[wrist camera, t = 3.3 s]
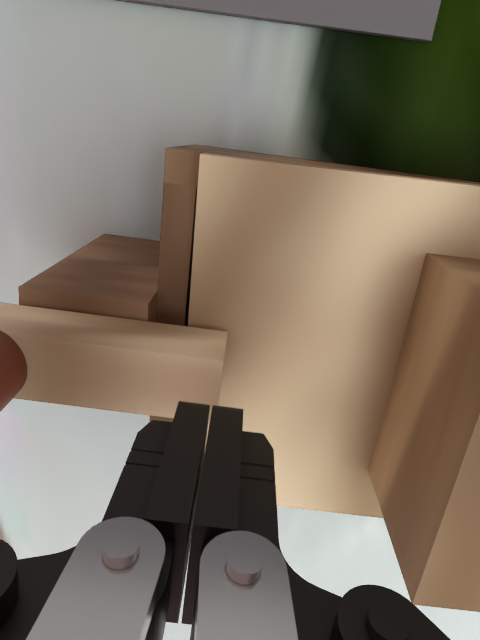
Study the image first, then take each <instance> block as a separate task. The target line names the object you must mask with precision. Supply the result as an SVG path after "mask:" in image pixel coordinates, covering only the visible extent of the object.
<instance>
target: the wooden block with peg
mask: <svg viewBox="0 0 480 640" xmlns="http://www.w3.org/2000/svg"><path fill="white" fill-rule="evenodd" d="M227 334H228V332H226V331H218V330H210V329H202V328H195V327H187V326H179V325H171V324H163V323H156V322H148V321H140V320H132V319H125V318H117V317H109V316H101V315H93V314H86V313H78V312H70V311H62V310H55V309H47V308H39V307H31V306H23V305H16V304H8V303H0V411H1V410H2V409H3V408H4V407H5V406H6V405H7V404H8V403H9V402H10V401H11V400H12V399H13V398H16V399H24V400H32V401H40V402H48V403H56V404H64V405H72V406H80V407H88V408H96V409H103V410H111V411H119V412H127V413H135V414H143V415H151V416H159V417H167V418H174V416H175V412H176V409H177V406H178V402H179V401H184V402H192V403H200V404H207V405H210V411H209V420H208V423H210V418H211V412H212V406H213V405H216V406H218V403H219V397H220V390H221V382H222V374H223V366H224V358H225V350H226V342H227Z"/></svg>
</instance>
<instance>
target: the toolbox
mask: <svg viewBox="0 0 480 640" xmlns="http://www.w3.org/2000/svg"><path fill="white" fill-rule="evenodd" d="M202 153H210V154H219V155H227V156H236V157H245V158H253V159H262V160H271V161H279V162H288V163H297V164H306V165H314V166H323V167H332V168H340V169H349V170H358V171H366V172H375V173H384V174H393V175H401V176H410V177H419V178H427V179H436V180H445V181H453V182H462V183H471V184H479V185H480V183H479V182H472V181H464V180H457V179H449V178H442V177H434V176H427V175H419V174H411V173H404V172H396V171H389V170H381V169H374V168H366V167H359V166H351V165H344V164H336V163H329V162H321V161H314V160H306V159H299V158H291V157H283V156H276V155H268V154H261V153H253V152H246V151H238V150H231V149H223V148H216V147H208V146H201V145H189V146H179V147H170V148H166V154H165V171H164V188H163V205H162V222H161V238H160V241H153V240H146V239H138V238H130V237H123V236H115V235H107V234H103V235H102V236H100V237H99V238H97V239H95V240H94V241H92V242H90V243H89V244H87V245H86V246H84V247H82V248H81V249H79V250H78V251H76V252H74V253H73V254H71V255H69V256H68V257H66V258H65V259H63V260H61V261H60V262H58V263H57V264H55V265H53V266H52V267H50V268H49V269H47V270H45V271H44V272H42V273H40V274H39V275H37V276H36V277H34V278H32V279H31V280H29V281H28V282H26V283H24V284H23V285H21V286H19V287H18V288H19V305H23V306H31V307H39V308H47V309H55V310H62V311H70V312H78V313H86V314H93V315H101V316H109V317H117V318H125V319H132V320H140V321H148V322H156V323H163V324H171V325H179V326H187V327H188V317H189V302H190V288H191V274H192V260H193V245H194V231H195V217H196V203H197V188H198V174H199V160H200V154H202ZM173 419H174V418H167V417H159V416H151V415H150V422H151V421H152V420H158V421H166V422H173Z"/></svg>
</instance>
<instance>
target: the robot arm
mask: <svg viewBox="0 0 480 640" xmlns="http://www.w3.org/2000/svg"><path fill="white" fill-rule="evenodd" d="M209 411H210V405H207V404H200V403H192V402H184V401H179V402H178V406H177V409H176V412H175V416H174V419H173V422H166V421H158V420H152V421H151V422H150V423H148V424H147V425H146V426H145V427H144V428H143V429H141V430H140V431H139V432H138V434H137V436H136V439H135V441H134V444H133V446H132V448H131V452H130V453H129V456H128V458H127V461H126V465H125V466H124V468H123V471H122V473H121V476H120V478H119V481H118V483H117V486H116V488H115V490H114V493H113V495H112V498H111V500H110V503H109V505H108V508H107V510H106V513H105V515H104V518H103V520H102V522H101V523H98V524H97V525H95V526H93V527H92V528H91V529H90V530H88V531H87V532H86V533H85V534H84V535H83V536H82V538H81V539H80V541H79V542H78V544H77V546H75V547H73V548H71V549H69V550H66V551H63V552H60V553H55V554H51V555H45V556H39V557H32V558H26V559H20V560H17V557H16V554H15V552H14V550H13V548H12V547H11V546H10V545H9V544H8V543H6V542H4V541H3V540H0V640H162V639H163V634H164V628H165V623H166V622H173V623H178V619H179V613H180V607H181V601H182V595H183V588H184V582H185V576H186V570H187V564H188V572H187V581H186V589H185V598H184V607H183V616H182V623H183V624H192V628H191V636H190V640H450V639H449V638H448V637H447V636H446V635H445V634H444V633H443V632H442V631H441V630H440V629H439V628H438V627H437V626H436V625H435V624H433V623H432V622H431V621H430V620H429V619H428V618H427V617H426V616H425V615H424V614H423V613H422V612H421V611H420V610H419V609H418V608H417V607H416V606H415V605H413V604H412V603H411V602H410V601H409V600H408V599H406V598H405V597H403V596H402V595H400V594H399V593H397V592H395V591H393V590H391V589H388V588H385V587H382V586H377V585H361V586H357V587H355V588H353V589H351V590H349V591H348V592H347V593H346V594H345V595H344V596H343V598H342V597H340V596H337V595H335V594H333V593H330V592H328V591H326V590H324V589H321V588H319V587H317V586H315V585H313V584H311V583H309V582H307V581H306V580H304V579H303V578H301V577H300V576H299V575H298V574H297V573H295V572H294V570H293V569H292V568H291V567H290V566H289V565H288V563H287V562H286V560H285V559H284V557H283V555H282V553H281V550H280V547H279V539H278V521H277V503H276V484H275V470H274V449H273V448H272V446H271V444H270V443H269V441H268V440H267V438H266V436H265V435H264V434H263V433H255V432H247V431H242V430H243V409H240V408H232V407H224V406H216V405H213V406H212V412H211V418H210V424H209V430H208V436H207V428H208V420H209ZM206 437H207V442H206ZM205 445H206V448H205ZM190 545H191V546H190ZM189 552H190V555H189ZM188 558H189V563H188Z"/></svg>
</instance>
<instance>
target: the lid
mask: <svg viewBox="0 0 480 640" xmlns="http://www.w3.org/2000/svg"><path fill="white" fill-rule="evenodd" d="M188 327H195V328H202V329H210V330H218V331H226V332H228V334H227V342H226V350H225V358H224V366H223V374H222V382H221V390H220V397H219V403H218V406H224V407H232V408H240V409H243V430H242V431H247V432H255V433H263V434H264V435H265V436H266V438H267V440H268V441H269V443H270V444H271V446H272V448H273V449H274V470H275V484H276V503H277V506H280V507H289V508H298V509H307V510H316V511H325V512H334V513H343V514H352V515H361V516H370V517H379V518H384V520H385V523H386V526H387V529H388V532H389V535H390V538H391V542H392V545H393V548H394V551H395V554H396V557H397V560H398V563H399V566H400V569H401V572H402V575H403V578H404V581H405V584H406V587H407V590H408V593H409V596H410V599H411V602H412V604H413V605H422V606H431V607H441V608H450V609H459V610H468V611H477V612H480V185H479V184H471V183H462V182H453V181H445V180H436V179H427V178H419V177H410V176H401V175H393V174H384V173H375V172H366V171H358V170H349V169H340V168H332V167H323V166H314V165H306V164H297V163H288V162H279V161H271V160H262V159H253V158H245V157H236V156H227V155H219V154H210V153H202V154H200V160H199V174H198V188H197V203H196V217H195V231H194V245H193V260H192V274H191V288H190V302H189V317H188ZM209 424H210V423H208V428H207V436H208V430H209ZM206 442H207V437H206ZM205 448H206V445H205Z"/></svg>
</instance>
